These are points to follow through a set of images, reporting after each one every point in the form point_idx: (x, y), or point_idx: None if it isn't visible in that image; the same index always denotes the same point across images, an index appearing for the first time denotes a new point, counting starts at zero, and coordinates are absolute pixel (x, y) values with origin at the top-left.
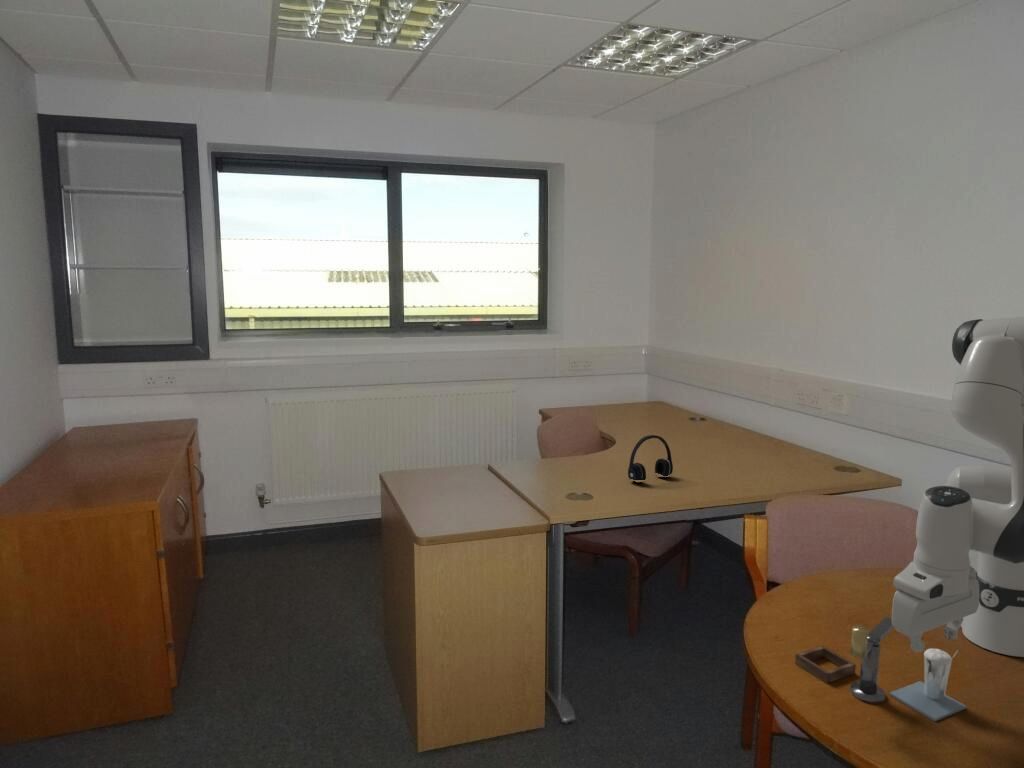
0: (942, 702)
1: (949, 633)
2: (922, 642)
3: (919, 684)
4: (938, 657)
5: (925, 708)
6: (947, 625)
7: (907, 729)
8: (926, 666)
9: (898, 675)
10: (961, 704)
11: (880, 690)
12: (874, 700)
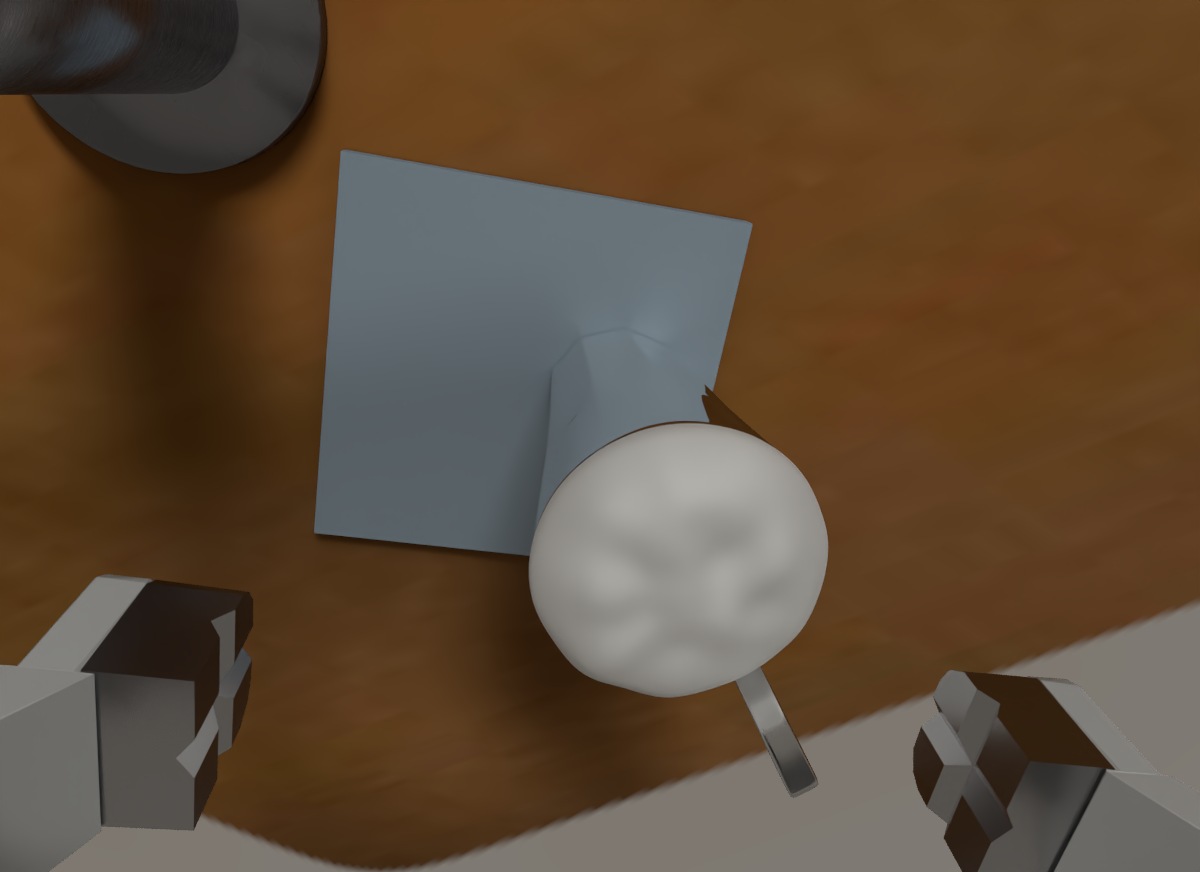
0: None
1: (966, 801)
2: (167, 801)
3: (690, 247)
4: (576, 646)
5: (386, 435)
6: (1123, 801)
7: (38, 465)
8: (553, 457)
9: (733, 34)
10: None
11: (268, 91)
12: (80, 135)
